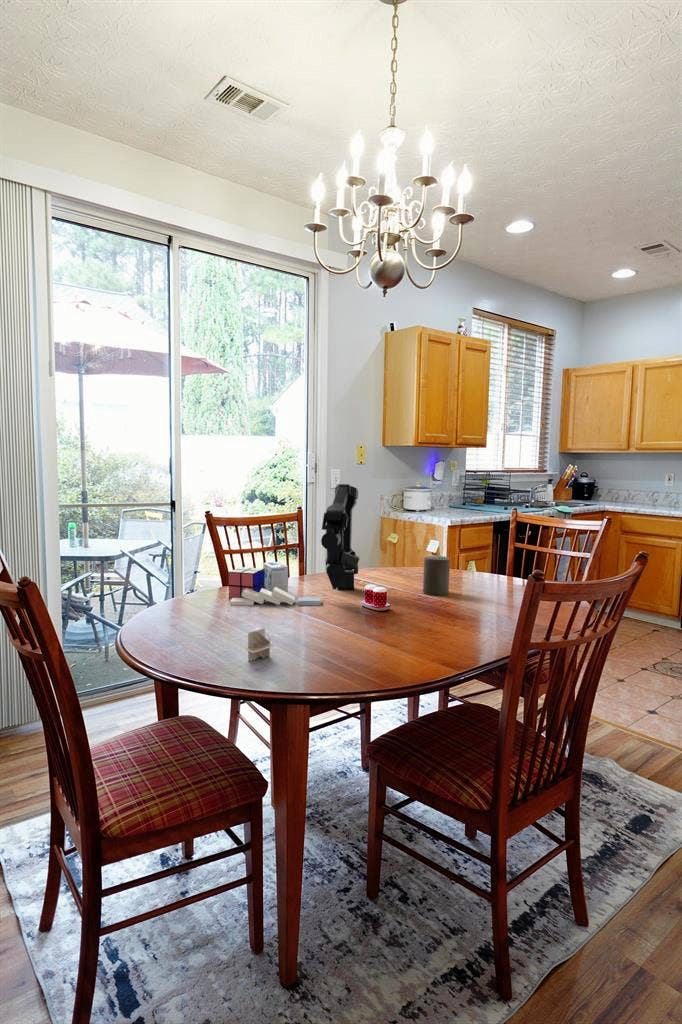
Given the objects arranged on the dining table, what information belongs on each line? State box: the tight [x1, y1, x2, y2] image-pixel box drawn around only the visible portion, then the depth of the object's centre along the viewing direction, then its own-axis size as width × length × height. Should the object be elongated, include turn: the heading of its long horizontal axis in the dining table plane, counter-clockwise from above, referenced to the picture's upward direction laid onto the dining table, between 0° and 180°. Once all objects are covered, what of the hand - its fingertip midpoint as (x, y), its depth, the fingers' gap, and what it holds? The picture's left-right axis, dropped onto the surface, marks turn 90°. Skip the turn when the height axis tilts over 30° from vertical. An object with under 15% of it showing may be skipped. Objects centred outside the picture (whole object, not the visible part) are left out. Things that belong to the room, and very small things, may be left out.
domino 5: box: [297, 596, 322, 606], centre depth 205 cm, size 2×5×8 cm
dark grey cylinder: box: [422, 554, 451, 597], centre depth 222 cm, size 10×10×15 cm
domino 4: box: [271, 587, 296, 606], centre depth 204 cm, size 2×5×8 cm
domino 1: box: [229, 598, 256, 606], centre depth 204 cm, size 2×5×8 cm
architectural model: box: [244, 627, 274, 661], centre depth 147 cm, size 3×7×7 cm, turn 140°
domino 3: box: [258, 588, 282, 606], centre depth 204 cm, size 2×5×8 cm
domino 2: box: [241, 588, 267, 605], centre depth 205 cm, size 2×5×8 cm
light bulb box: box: [262, 561, 289, 593], centre depth 220 cm, size 11×7×11 cm, turn 25°
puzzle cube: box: [228, 566, 265, 600], centre depth 213 cm, size 10×10×10 cm
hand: (334, 589), depth 205 cm, fingers closed
